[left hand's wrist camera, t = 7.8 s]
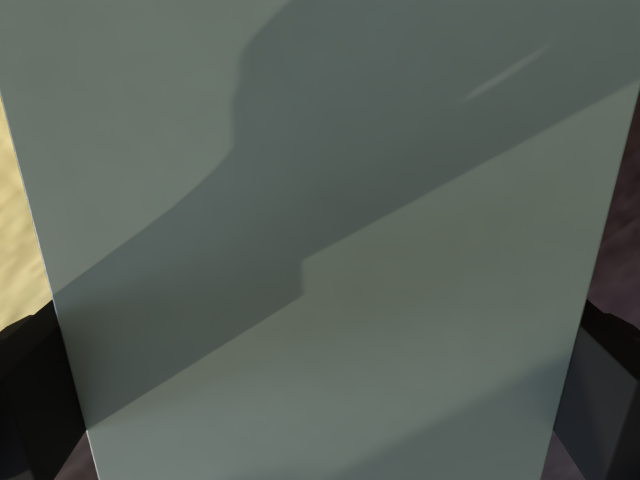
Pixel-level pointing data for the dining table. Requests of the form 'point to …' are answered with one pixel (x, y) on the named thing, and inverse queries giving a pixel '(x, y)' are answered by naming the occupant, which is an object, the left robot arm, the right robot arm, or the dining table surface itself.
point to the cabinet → (319, 224)
